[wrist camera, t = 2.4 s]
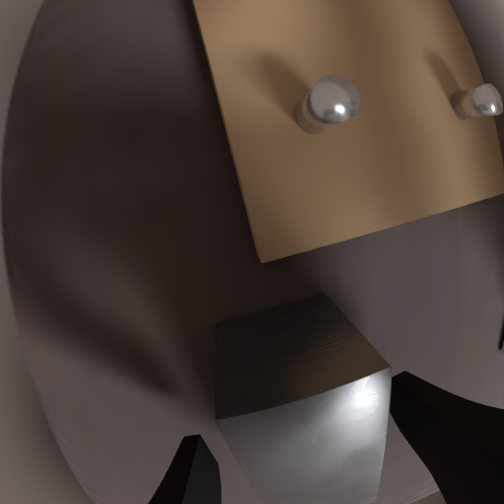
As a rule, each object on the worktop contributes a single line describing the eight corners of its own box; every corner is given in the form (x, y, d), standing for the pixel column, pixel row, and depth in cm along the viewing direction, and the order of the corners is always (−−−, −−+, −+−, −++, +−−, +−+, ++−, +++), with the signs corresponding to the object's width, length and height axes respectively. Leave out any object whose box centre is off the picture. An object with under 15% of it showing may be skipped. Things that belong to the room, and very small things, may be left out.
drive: (322, 291, 10) (390, 366, 6) (340, 428, 12) (376, 500, 7) (216, 321, 10) (215, 420, 5) (265, 450, 12) (281, 530, 7)
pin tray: (405, -45, 7) (430, -69, 4) (492, 191, 10) (537, 196, 7) (177, -53, 6) (170, -95, 4) (257, 255, 10) (272, 285, 7)
